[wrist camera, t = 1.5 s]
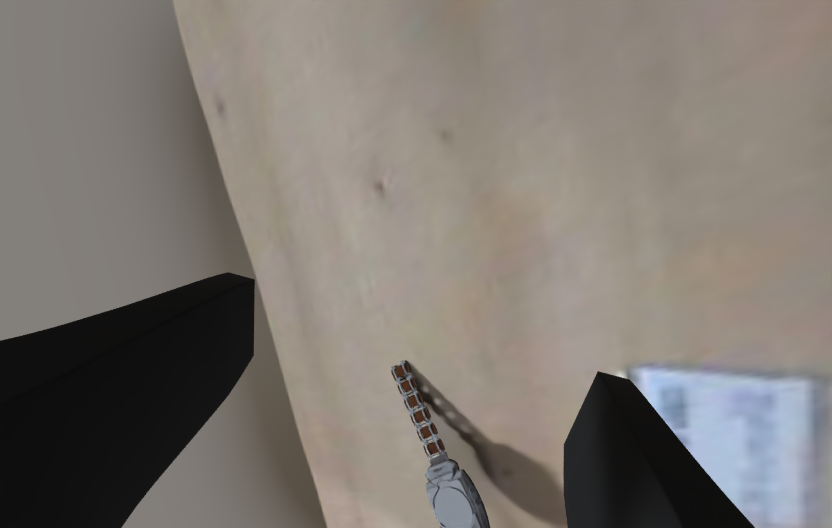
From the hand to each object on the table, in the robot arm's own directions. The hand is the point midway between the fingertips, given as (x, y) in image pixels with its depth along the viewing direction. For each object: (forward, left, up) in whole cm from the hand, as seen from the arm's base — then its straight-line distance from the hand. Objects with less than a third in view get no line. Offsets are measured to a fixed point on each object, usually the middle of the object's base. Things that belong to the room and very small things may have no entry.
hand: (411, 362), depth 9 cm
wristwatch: (-16, 0, -16) cm, 22 cm away
